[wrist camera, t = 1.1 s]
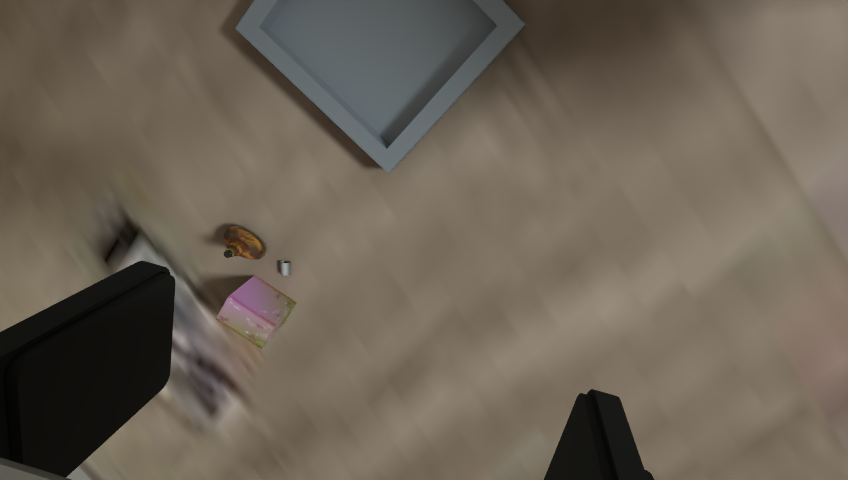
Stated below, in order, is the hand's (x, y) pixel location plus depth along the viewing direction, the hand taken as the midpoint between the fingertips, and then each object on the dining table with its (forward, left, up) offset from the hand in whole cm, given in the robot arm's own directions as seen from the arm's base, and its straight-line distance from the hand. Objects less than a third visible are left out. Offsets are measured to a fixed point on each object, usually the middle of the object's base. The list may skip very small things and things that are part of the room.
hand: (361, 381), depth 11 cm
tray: (-3, -11, -27) cm, 29 cm away
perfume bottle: (+20, -7, -27) cm, 34 cm away
